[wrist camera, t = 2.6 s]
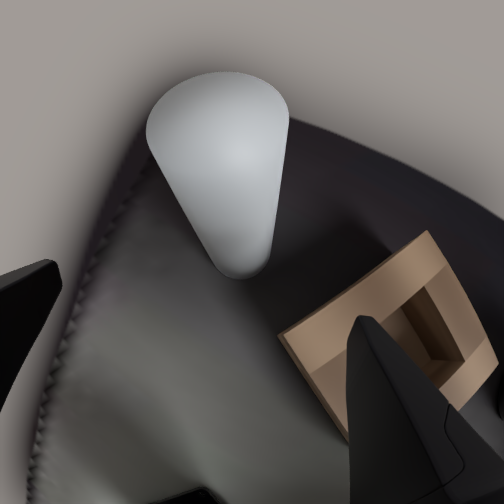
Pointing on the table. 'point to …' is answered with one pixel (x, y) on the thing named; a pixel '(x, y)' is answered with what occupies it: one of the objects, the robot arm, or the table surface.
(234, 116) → the peg
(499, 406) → the supplement bottle
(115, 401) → the table surface
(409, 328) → the socket block
